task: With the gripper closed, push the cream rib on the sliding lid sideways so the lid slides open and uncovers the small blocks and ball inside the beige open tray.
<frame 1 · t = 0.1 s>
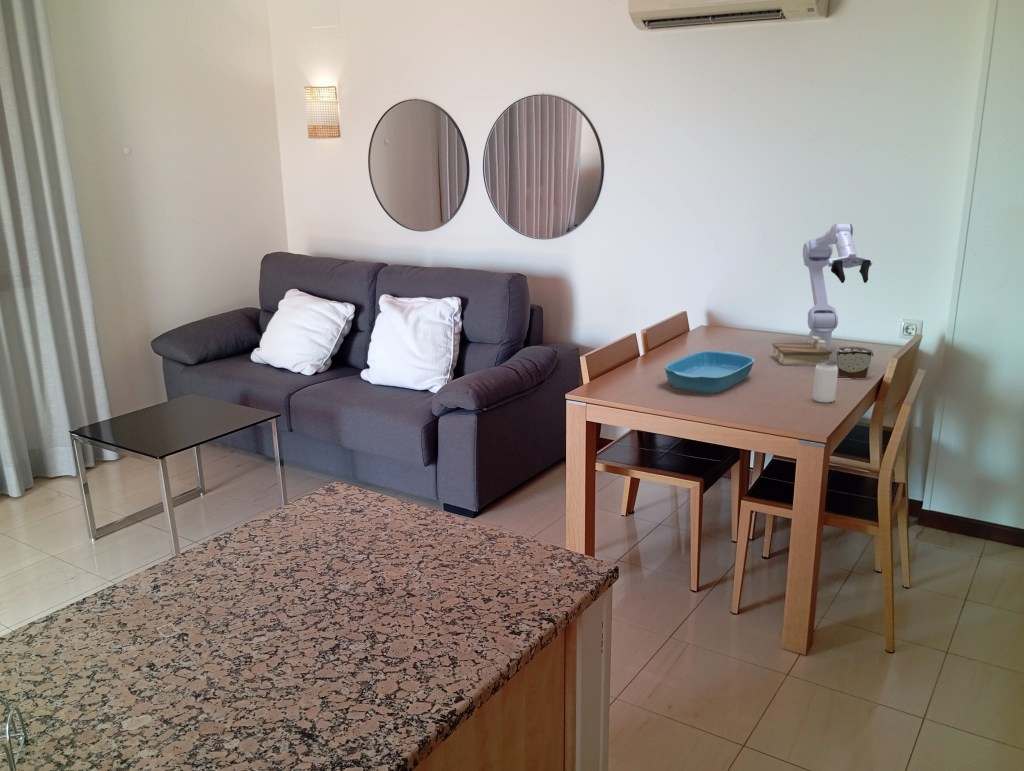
hand: (854, 281, 274), 32 cm above the table, tool tilted 50°, fingers open, 7 cm apart
cream cube: (808, 358, 298), point 1 cm above the table, touching beige open tray
casserole dish: (709, 383, 273), on the table
can: (823, 400, 250), on the table
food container: (849, 376, 277), on the table
lid: (801, 344, 293), point 7 cm above the table, slide at 0.0 cm
beige open tray: (800, 362, 295), on the table
sage cube: (812, 362, 292), point 1 cm above the table, touching beige open tray
terracotta ball: (798, 360, 295), point 1 cm above the table, touching beige open tray
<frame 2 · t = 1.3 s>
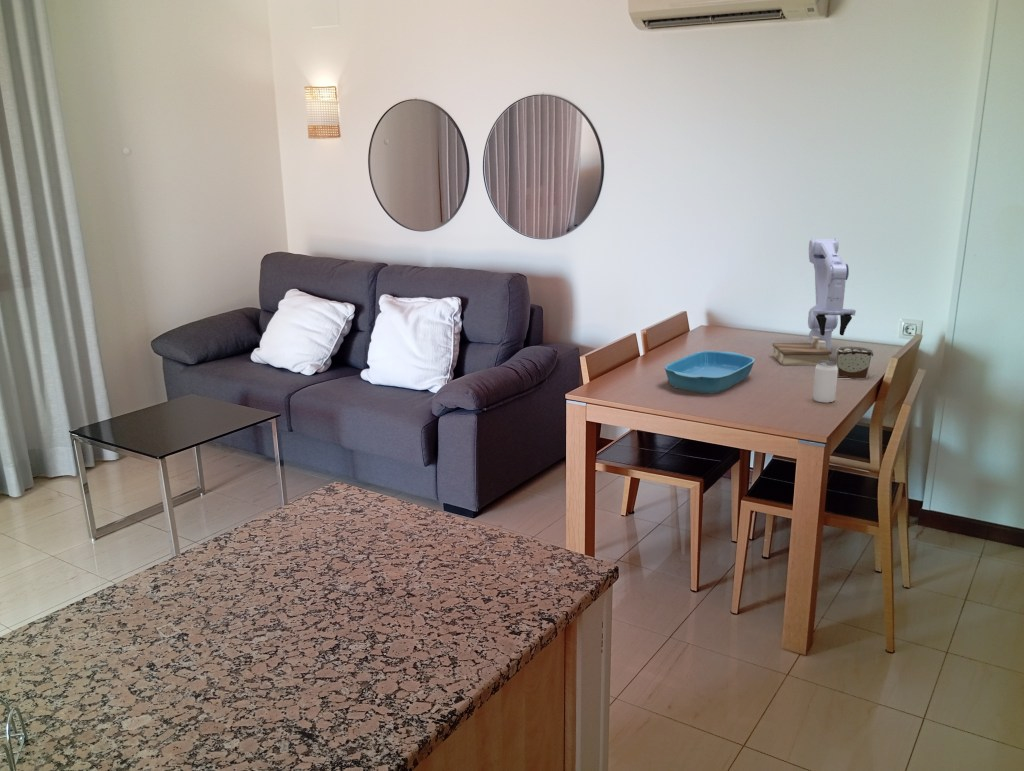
hand: (831, 335, 292), 10 cm above the table, tool pointing down, fingers open, 6 cm apart
nothing on the table moved.
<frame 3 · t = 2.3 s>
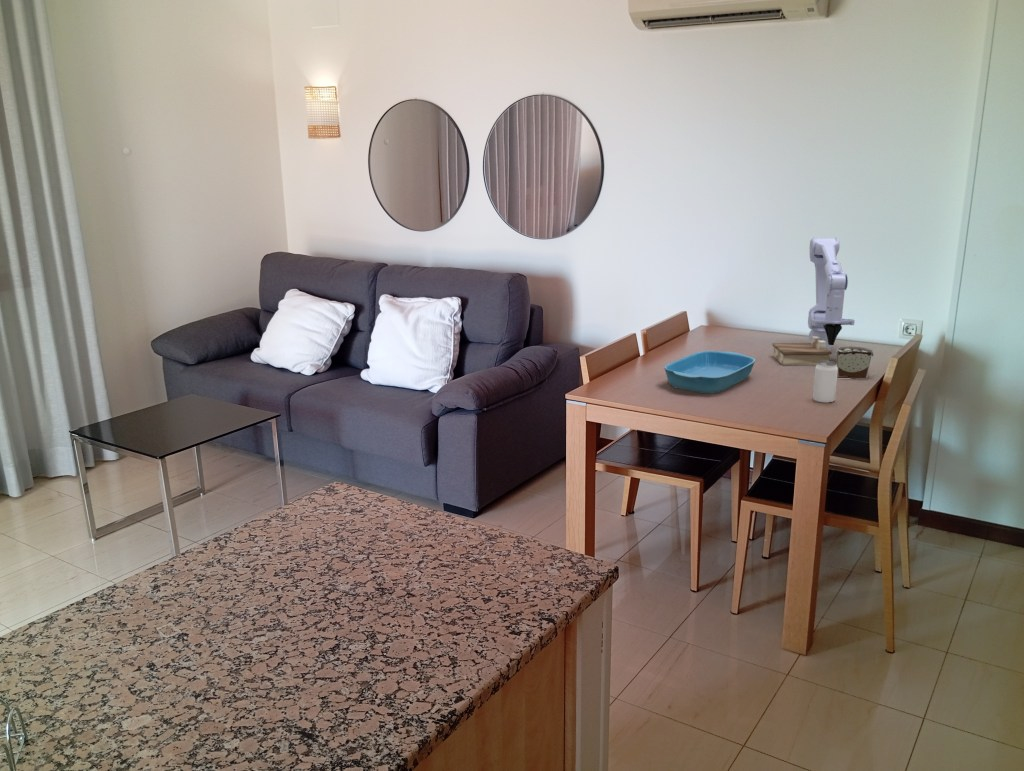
hand: (830, 344, 293), 7 cm above the table, tool pointing down, fingers closed
nothing on the table moved.
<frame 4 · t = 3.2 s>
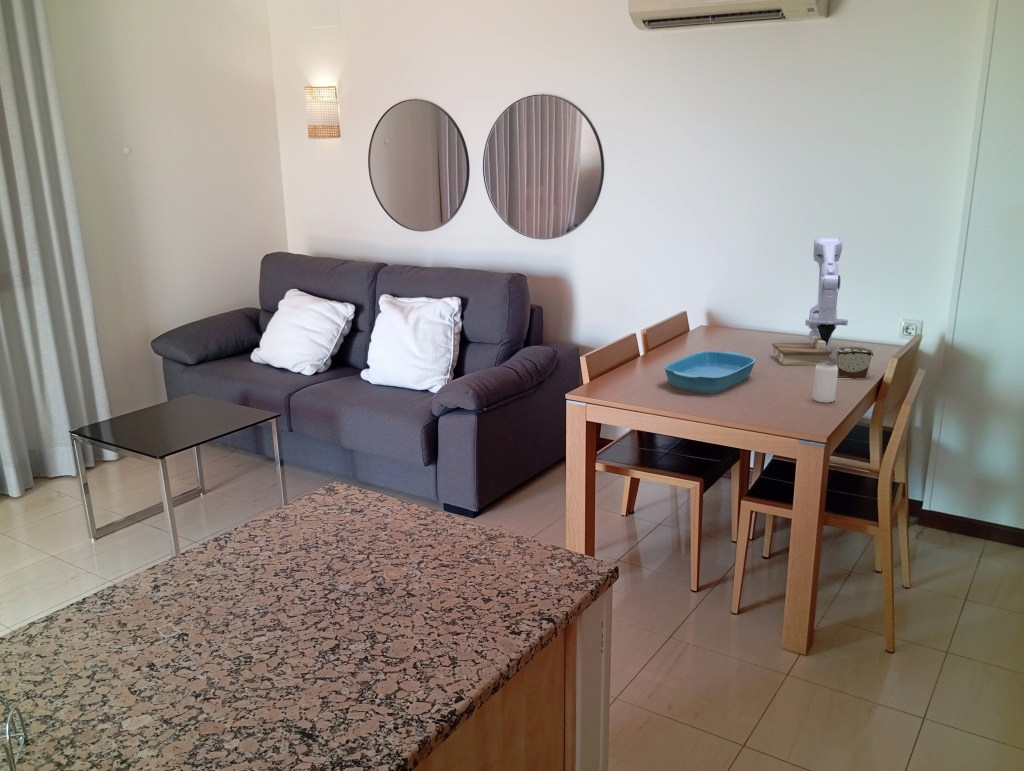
hand: (824, 344, 293), 7 cm above the table, tool pointing down, fingers closed
lid: (801, 344, 293), point 7 cm above the table, slide at 0.1 cm, touching gripper
everything else where it was.
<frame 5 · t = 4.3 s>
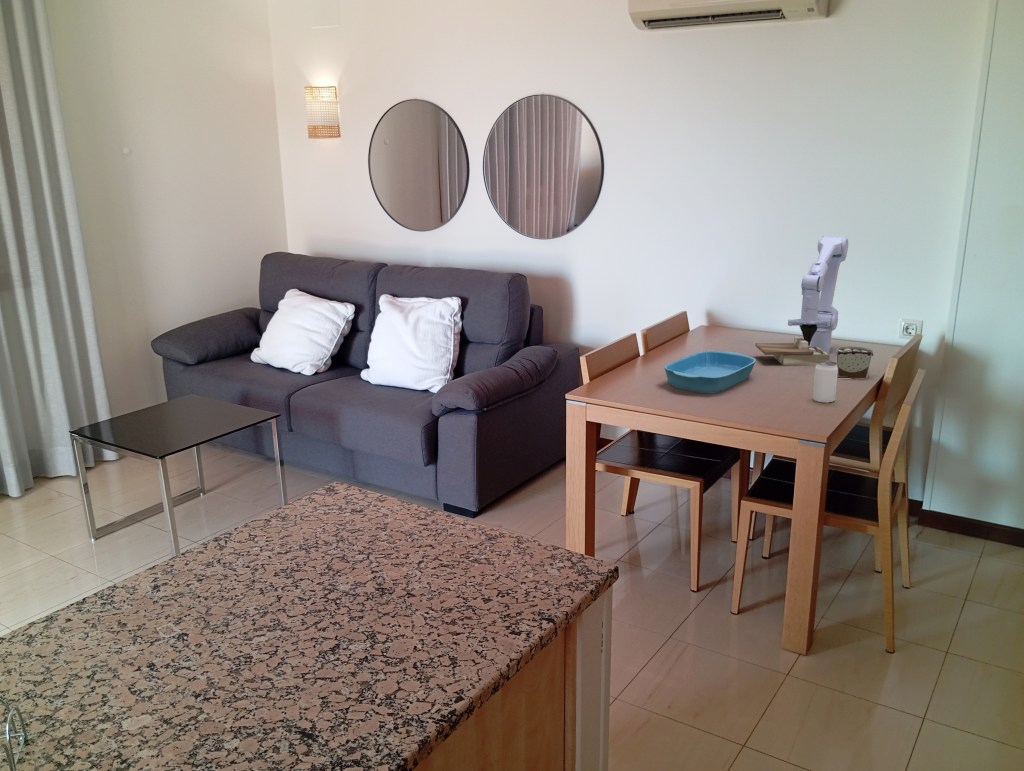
hand: (806, 344, 293), 7 cm above the table, tool pointing down, fingers closed
lid: (784, 344, 294), point 7 cm above the table, slide at 6.4 cm, touching gripper
everything else where it was.
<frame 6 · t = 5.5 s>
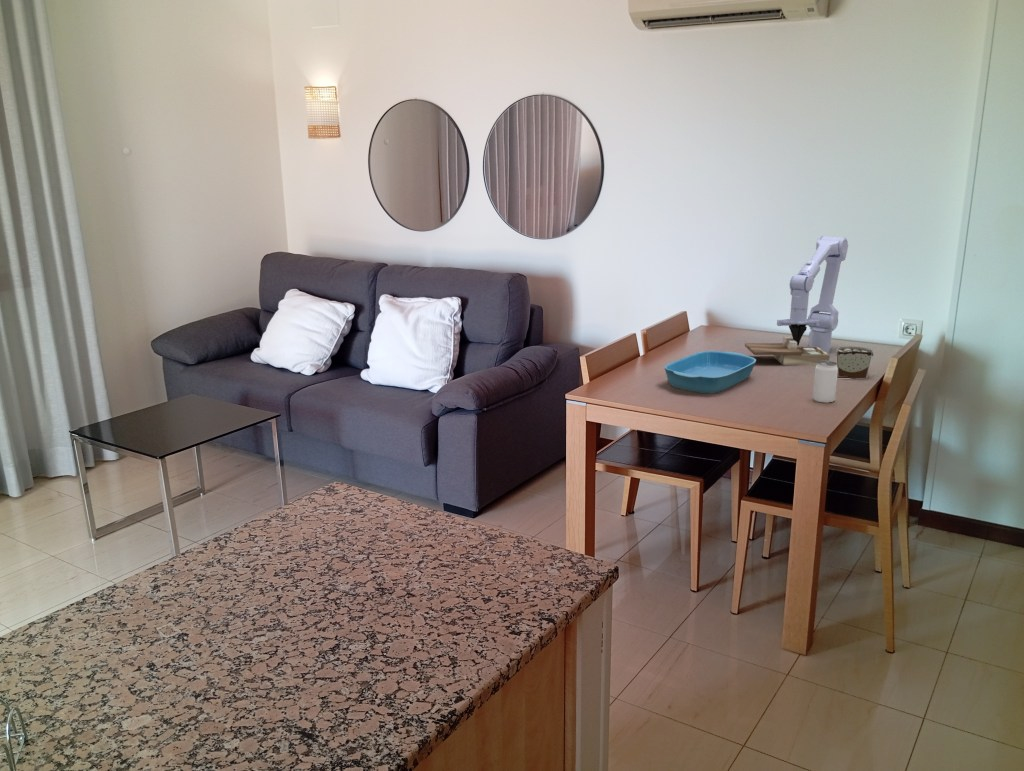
hand: (796, 345, 293), 7 cm above the table, tool pointing down, fingers closed
lid: (773, 344, 294), point 7 cm above the table, slide at 10.2 cm, touching gripper
everything else where it was.
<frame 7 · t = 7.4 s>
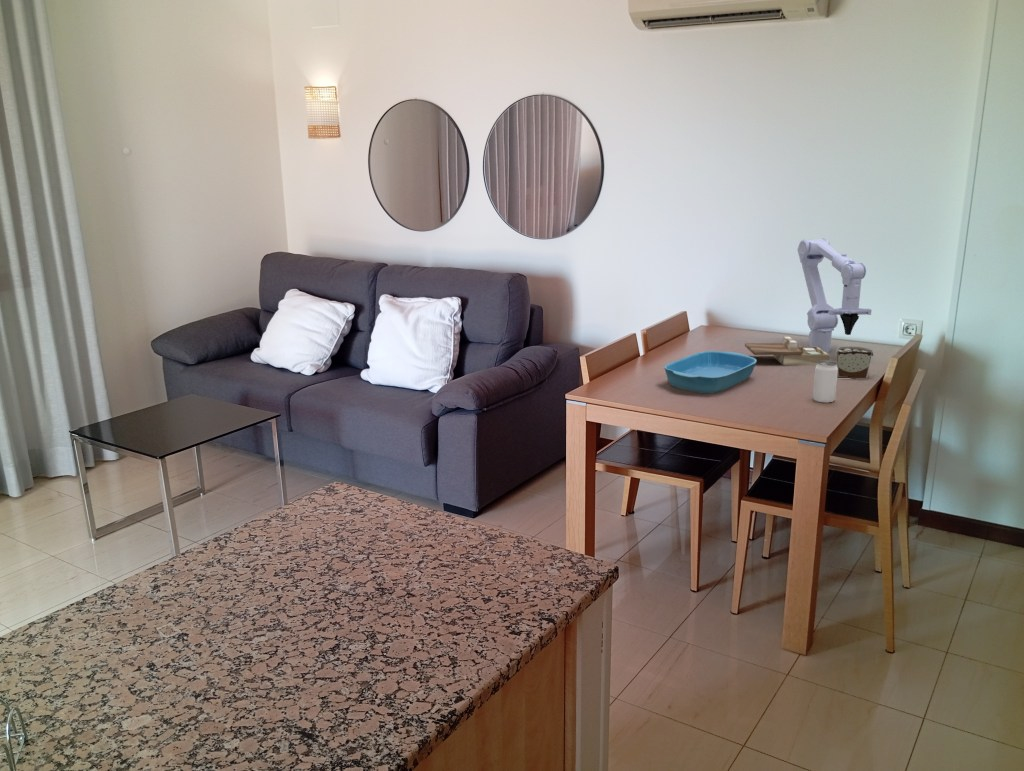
hand: (847, 334, 292), 10 cm above the table, tool pointing down, fingers closed
lid: (773, 344, 294), point 7 cm above the table, slide at 10.2 cm
everything else where it was.
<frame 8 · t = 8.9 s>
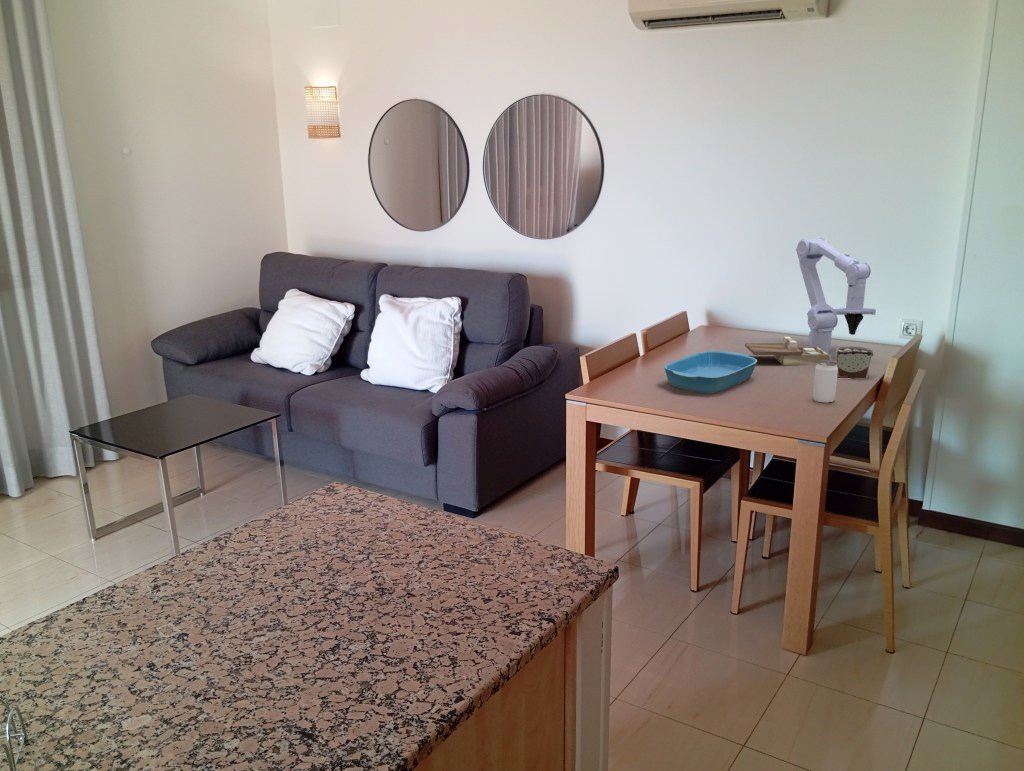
hand: (852, 334, 292), 10 cm above the table, tool pointing down, fingers closed
nothing on the table moved.
at the end: lid slide at 10.2 cm; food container moved 0.2 cm from its start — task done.
